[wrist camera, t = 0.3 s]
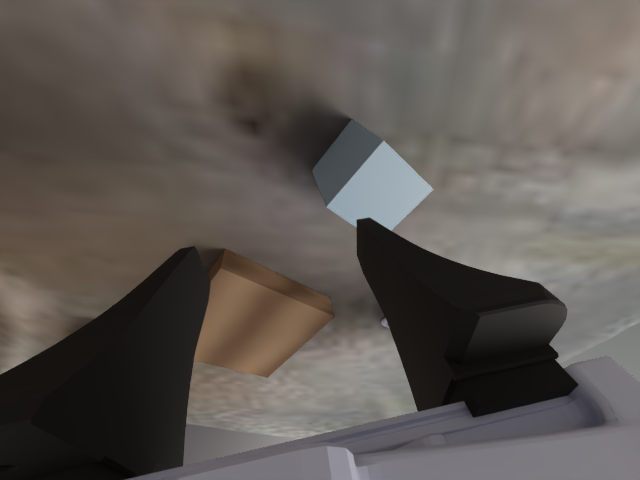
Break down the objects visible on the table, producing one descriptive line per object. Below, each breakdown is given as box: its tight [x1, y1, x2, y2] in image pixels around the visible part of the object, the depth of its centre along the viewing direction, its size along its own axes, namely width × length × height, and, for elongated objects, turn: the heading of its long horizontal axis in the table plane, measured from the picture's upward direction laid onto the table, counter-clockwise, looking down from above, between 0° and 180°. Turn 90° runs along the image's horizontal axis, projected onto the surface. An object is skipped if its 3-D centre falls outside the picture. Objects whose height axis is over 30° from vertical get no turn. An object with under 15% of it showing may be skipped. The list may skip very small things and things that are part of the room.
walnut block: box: [194, 249, 335, 377], centre depth 26 cm, size 12×12×3 cm
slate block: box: [312, 119, 433, 230], centre depth 17 cm, size 4×4×6 cm
